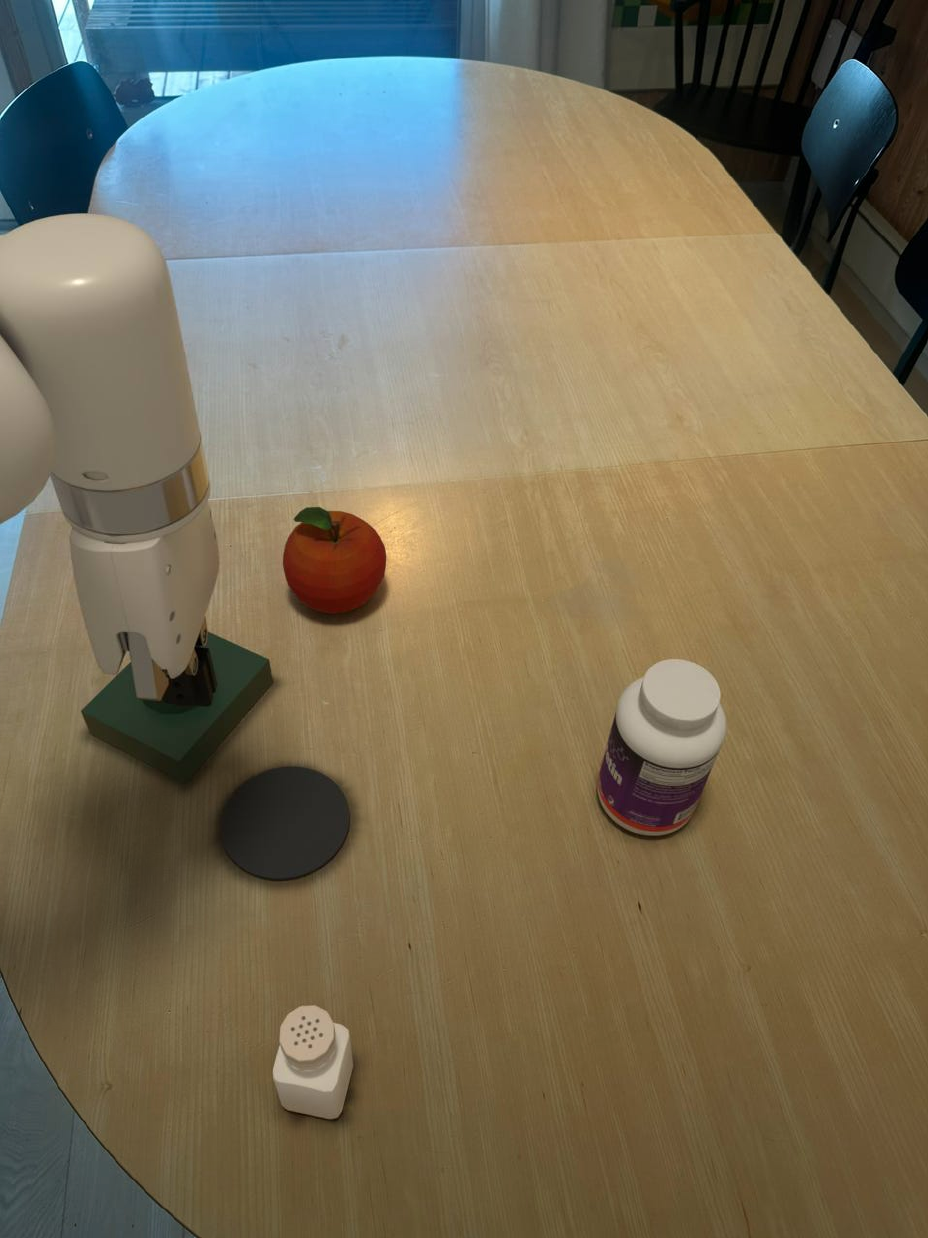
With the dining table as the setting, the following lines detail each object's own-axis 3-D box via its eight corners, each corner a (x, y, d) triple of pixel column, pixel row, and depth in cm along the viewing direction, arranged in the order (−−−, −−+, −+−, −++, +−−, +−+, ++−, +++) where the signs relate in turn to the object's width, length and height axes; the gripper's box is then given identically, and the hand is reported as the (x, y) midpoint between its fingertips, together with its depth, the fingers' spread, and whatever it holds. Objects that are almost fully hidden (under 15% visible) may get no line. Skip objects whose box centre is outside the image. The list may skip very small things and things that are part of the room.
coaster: (302, 903, 71) (302, 901, 71) (194, 844, 74) (193, 841, 74) (373, 801, 78) (373, 798, 77) (270, 750, 80) (270, 747, 80)
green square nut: (185, 784, 78) (174, 748, 74) (90, 734, 81) (74, 697, 77) (273, 682, 85) (267, 645, 82) (182, 640, 88) (172, 602, 84)
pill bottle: (599, 749, 82) (627, 636, 71) (694, 765, 81) (737, 653, 71) (591, 832, 76) (620, 723, 66) (693, 850, 76) (739, 743, 65)
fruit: (375, 637, 89) (372, 559, 82) (275, 622, 90) (262, 543, 83) (397, 566, 96) (396, 488, 88) (303, 553, 97) (294, 474, 89)
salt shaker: (356, 1059, 64) (349, 1005, 57) (339, 1124, 61) (330, 1075, 54) (297, 1047, 65) (283, 991, 58) (279, 1111, 62) (262, 1060, 55)
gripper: (104, 384, 54) (164, 607, 68) (1, 569, 44) (96, 789, 58) (237, 393, 54) (271, 615, 68) (164, 581, 44) (221, 799, 58)
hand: (190, 695), depth 63 cm, fingers closed
